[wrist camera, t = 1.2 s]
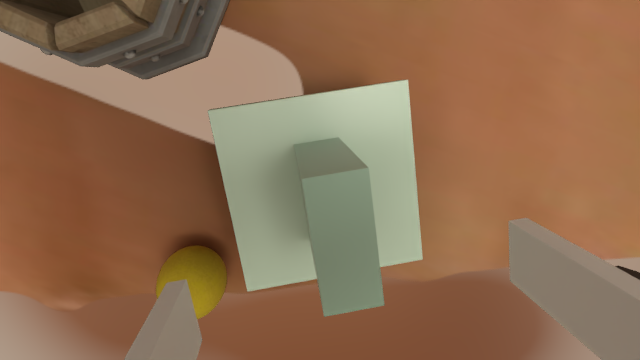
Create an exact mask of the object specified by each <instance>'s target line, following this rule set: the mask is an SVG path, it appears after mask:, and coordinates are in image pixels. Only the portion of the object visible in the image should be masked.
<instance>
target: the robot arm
mask: <svg viewBox="0 0 640 360" xmlns="http://www.w3.org/2000/svg"><path fill="white" fill-rule="evenodd" d="M509 260H510V281H511V282H512V283H513V284H514V285H515V286H517V287H518V288H519V289H520V290H521V291H522V292H524V293H525V294H526V295H527V296H528V297H529V298H531V299H532V300H533V301H534V302H535V303H537V304H538V305H539V306H540V307H541V308H542V309H543V310H544V311H546V312H547V313H548V314H549V315H550V316H551V317H553V318H554V319H555V320H556V321H557V322H558V323H560V324H561V325H562V326H563V327H564V328H565V329H567V330H568V331H569V332H570V333H571V334H572V335H573V336H575V337H576V338H577V339H578V340H579V341H580V342H582V343H583V344H584V345H585V346H586V347H587V348H589V349H590V350H591V351H592V352H594V354H596V355H597V356H598V357H599V358H600V359H601V360H640V273H639V272H637V271H633V270H630V269H627V268H624V267H621V266H613V265H611V264H609V263H608V262H606V261H604V260H602V259H601V258H599V257H597V256H595V255H593V254H591V253H590V252H588V251H586V250H584V249H582V248H581V247H579V246H577V245H575V244H573V243H571V242H570V241H568V240H566V239H564V238H562V237H561V236H559V235H557V234H555V233H553V232H551V231H550V230H548V229H546V228H544V227H542V226H541V225H539V224H537V223H535V222H533V221H531V220H530V219H528V218H522V219H517V220H511V221H509ZM201 342H202V337H201V333H200V329H199V325H198V321H197V318H196V314H195V310H194V306H193V302H192V298H191V295H190V291H189V287H188V283H187V279H185V280H179V281H174V282H168V283H166V285H165V287H164V288H163V290H162V292H161V294H160V296H159V297H158V299H157V301H156V303H155V305H154V307H153V308H152V310H151V312H150V314H149V316H148V317H147V319H146V321H145V323H144V325H143V326H142V328H141V330H140V332H139V334H138V335H137V337H136V339H135V341H134V342H133V344H132V346H131V348H130V350H129V352H128V353H127V355H126V357H125V359H124V360H196V359H197V356H198V352H199V348H200V345H201Z"/></svg>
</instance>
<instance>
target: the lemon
mask: <svg viewBox="0 0 640 360" xmlns="http://www.w3.org/2000/svg"><path fill="white" fill-rule="evenodd" d="M185 279H187V283H188V287H189V291H190V295H191V298H192V302H193V306H194V310H195V314H196V318H197V319H199V318H201V317H203V316H205V315H207V314H208V313H209V312H210V311H212V310H213V309H214V308H215V307H216V305H217V304H218V302H219V301H220V299H221V298H222V296H223V294H224V291H225V288H226V284H227V271H226V268H225V264H224V262H223V260H222V259H221V257H220V256H219V255H218V254H217V253H216V252H215V251H213V250H211V249H210V248H207V247H204V246H196V245H195V246H188V247H185V248H182V249H180V250H178V251H177V252H175V253H174V254H172V255H171V256H170V257H169V258H168V259H167V261H166V262H165V263H164V264H163V266H162V268H161V270H160V272H159V275H158V278H157V284H156V296H157V299H158V297H159V296H160V294H161V292H162V290H163V288H164V287H165V285H166V283H168V282H174V281H179V280H185Z"/></svg>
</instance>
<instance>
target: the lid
mask: <svg viewBox="0 0 640 360" xmlns="http://www.w3.org/2000/svg"><path fill="white" fill-rule="evenodd" d="M208 114H209V119H210V124H211V128H212V133H213V137H214V142H215V146H216V151H217V155H218V160H219V164H220V169H221V173H222V178H223V183H224V187H225V192H226V196H227V201H228V205H229V210H230V214H231V219H232V223H233V228H234V232H235V237H236V241H237V246H238V251H239V255H240V260H241V264H242V269H243V273H244V278H245V282H246V287H247V291H253V290H259V289H264V288H270V287H275V286H281V285H286V284H292V283H297V282H302V281H308V280H313V279H317V282H318V287H319V292H320V298H321V303H322V307H323V313H324V317H325V316H331V315H336V314H341V313H346V312H351V311H357V310H362V309H367V308H372V307H378V306H383V305H384V297H383V288H382V279H381V271H380V267H384V266H390V265H395V264H400V263H406V262H411V261H417V260H422V259H423V258H422V246H421V233H420V221H419V209H418V197H417V185H416V172H415V160H414V148H413V136H412V123H411V111H410V99H409V87H408V80H398V81H391V82H385V83H379V84H372V85H366V86H359V87H353V88H346V89H340V90H333V91H327V92H320V93H314V94H307V95H301V96H294V97H288V98H281V99H275V100H268V101H262V102H256V103H249V104H242V105H236V106H230V107H223V108H217V109H211V110H208Z"/></svg>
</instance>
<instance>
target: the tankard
mask: <svg viewBox="0 0 640 360" xmlns="http://www.w3.org/2000/svg"><path fill="white" fill-rule="evenodd" d="M229 1H230V0H0V31H1V32H4V33H6V34H9V35H10V36H13V37H15V38H17V39H20V40H22V41H24V42H27V43H29V44H31V45H33V46H36V47H38V48H40V49H41V51H42V52H43V53H45V54H47V55H52V54H54V55H57V56H59V57H61V58H63V59H66V60H68V61H70V62H73V63H75V64H77V65H79V66H86V67H100V66H102V65H105V64H109V65H111V66H113V67H116V68H118V69H121V70H123V71H125V72H128V73H130V74H132V75H134V76H137V77H139V78H141V79H150V78H152V77H155V76H158V75H160V74H163V73H166V72H168V71H171V70H174V69H176V68H179V67H182V66H184V65H187V64H190V63H192V62H195V61H198V60H200V59H203V58H206V57H208V55H209V52H210V50H211V47H212V45H213V42H214V39H215V37H216V34H217V31H218V29H219V27H220V24H221V21H222V19H223V16H224V14H225V11H226V9H227V6H228V3H229Z"/></svg>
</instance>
